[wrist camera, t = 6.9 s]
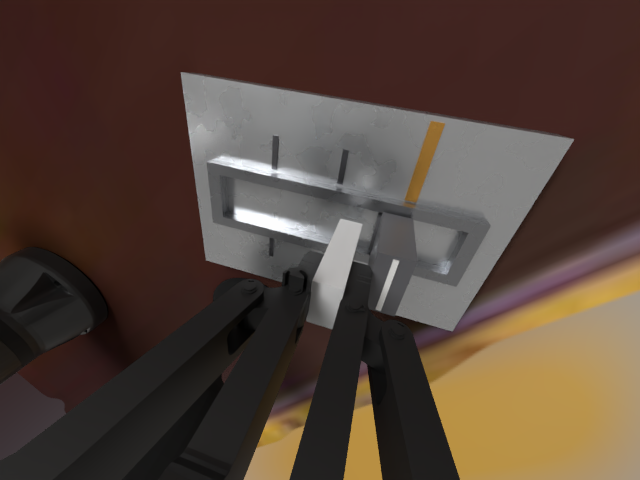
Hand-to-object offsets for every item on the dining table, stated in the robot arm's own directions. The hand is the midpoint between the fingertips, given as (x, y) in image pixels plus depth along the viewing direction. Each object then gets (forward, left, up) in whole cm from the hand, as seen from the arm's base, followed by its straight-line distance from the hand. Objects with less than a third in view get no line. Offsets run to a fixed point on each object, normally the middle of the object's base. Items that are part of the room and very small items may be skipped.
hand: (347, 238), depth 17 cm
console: (-2, 0, -5) cm, 5 cm away
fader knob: (+3, 0, -2) cm, 4 cm away
